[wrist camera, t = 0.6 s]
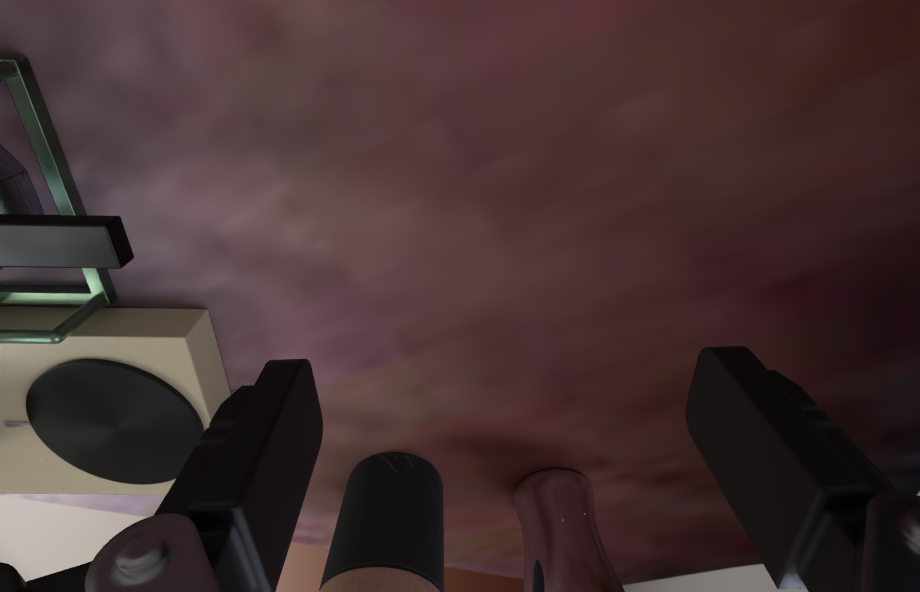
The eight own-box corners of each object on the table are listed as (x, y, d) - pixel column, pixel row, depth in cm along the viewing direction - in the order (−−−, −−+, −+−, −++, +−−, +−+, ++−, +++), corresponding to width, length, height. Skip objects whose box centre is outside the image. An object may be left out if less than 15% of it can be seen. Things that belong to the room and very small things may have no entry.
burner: (0, 357, 28) (-6, 361, 27) (182, 359, 28) (179, 363, 28) (67, 479, 33) (63, 484, 32) (221, 480, 33) (219, 485, 33)
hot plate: (-19, 458, 36) (-57, 495, 33) (-120, 303, 29) (-179, 334, 27) (249, 460, 36) (233, 497, 34) (208, 308, 30) (183, 339, 27)
